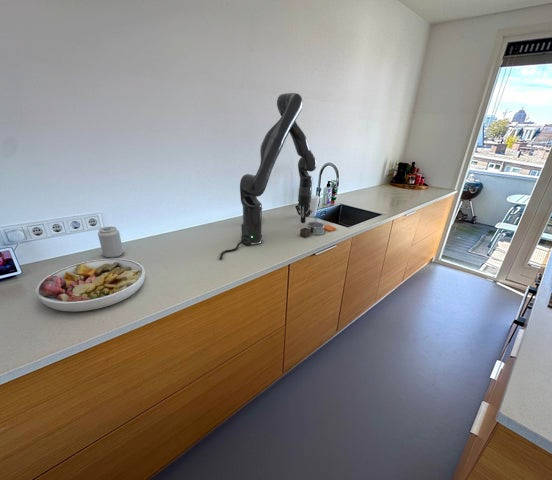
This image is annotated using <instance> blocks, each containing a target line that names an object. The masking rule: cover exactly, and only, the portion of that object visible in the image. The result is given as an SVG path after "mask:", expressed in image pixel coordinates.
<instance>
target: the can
mask: <svg viewBox="0 0 552 480" xmlns="http://www.w3.org/2000/svg"><path fill="white" fill-rule="evenodd" d="M97 236H98V240H99V244H100V248H101V253H102V255H103V256H104V257H106V258H107V259H115V258H118V257H121V256H122V254H124V248H123V244H122V239H121V238H122V237H121V235H120V231H119V230H118V229H117V227H116V226H103V227H100V228H99V229H98V232H97Z"/></svg>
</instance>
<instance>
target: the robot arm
mask: <svg viewBox="0 0 552 480" xmlns="http://www.w3.org/2000/svg"><path fill="white" fill-rule="evenodd" d="M276 107H277V110H278V114H279V115H280V118H279V120H278V121H277V122H276V123H274V125H273V126H272V127H270V129H269V130H268V131H267V132H266V134H265V135H264V138H263V139H262V142H261V145H260V148H259V155H260V163H259V166H258V169H257V171H256V174H251V173H245V174H244V175H243V176H242V177H241V179H240V181H239V194H240V195H239V196H240V197H239V198H240V203H241V205H242V223H241V225H240V227H241V229H240V231H241V236H240V241H239V242H238V243H237V244H236V246H235V247H234V248H231V249H225V250H223V251H221V253H220V256H219V260H222V259H223V255H224V254H225V253H228V252H234V251H236V250H237V249H238V248H239V246H240V245H241V244H242V243H243V244H245V245H247V246H256V245H260V244H261V243H262V241H263V239H262V238H263V234H262V232H263V231H262V229H263V227H262V225H263V222H262V221H263V204H262V202H261V201H260V200H259V199H258V197H261V196H262V195H263V194H264V193H265V191H266V188H267V186H268V183H269V180H270V177H271V174H272V171H273V169H274V166H275V164H276V162H277V159H278V158H279V155H280V153H281V151H282V149H283V147H284V145H285V143H286V139H287V137H288V135H290V137H291V139H292V143H293V145H294V148H295V152H296V154H297V156H299V157H300V158H299V160H298V161H297V169H298V176H299V187H298V195H297V202H298V203H297V205H295V210H296V212H297V214H298V216H300V219H299V220H300V224H305V223H306V221H307V219H306V218H309V215H310V214H311V213H312V212H313V210H311V209H310V203H311V195H313V194H312V193H313V176H312V175H310V173H309V172H311V173H312V172H314V171H315V170H316V169H317V165H318V164H317V159H316V157H315V156H314V154H313V152H312V150H311V148H310V145H309V142H308V139H307V137H306V135H305V133H304V131H303V129H301V127H300V126H299V124H298V122H297V121H296V120H297V119H298V117H299V115H300V113H301V111H302V110H303V109H302V108H303V97H302V96H301V95H300V94H299V93H297V92H286V93H281V94H279V96H277V99H276Z"/></svg>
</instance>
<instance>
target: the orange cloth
mask: <svg viewBox="0 0 552 480" xmlns="http://www.w3.org/2000/svg"><path fill="white" fill-rule="evenodd" d="M324 225H325V229H324V231H326V232H328V233H329V232H333V231H336V230H337V228H336V227H334V226H332V225H329V224H324Z"/></svg>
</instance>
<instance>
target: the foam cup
mask: <svg viewBox="0 0 552 480" xmlns="http://www.w3.org/2000/svg"><path fill="white" fill-rule="evenodd" d="M320 197H321V196H319V195H317V194H312V195H311V203H310V209H311V210H313V212H312V213H311V214H310V215H309V217H310V218H314V217H316V216H317V211H318V207H319V203H320ZM309 217H308V218H309Z"/></svg>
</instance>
